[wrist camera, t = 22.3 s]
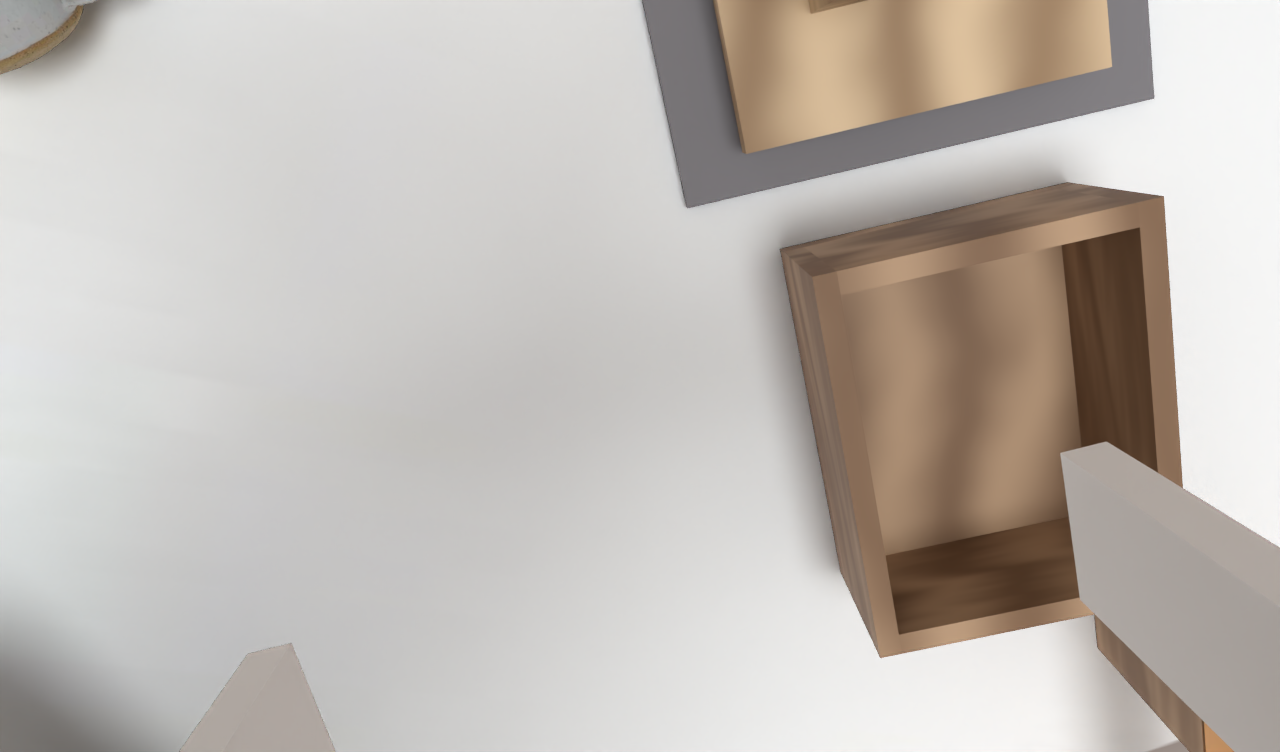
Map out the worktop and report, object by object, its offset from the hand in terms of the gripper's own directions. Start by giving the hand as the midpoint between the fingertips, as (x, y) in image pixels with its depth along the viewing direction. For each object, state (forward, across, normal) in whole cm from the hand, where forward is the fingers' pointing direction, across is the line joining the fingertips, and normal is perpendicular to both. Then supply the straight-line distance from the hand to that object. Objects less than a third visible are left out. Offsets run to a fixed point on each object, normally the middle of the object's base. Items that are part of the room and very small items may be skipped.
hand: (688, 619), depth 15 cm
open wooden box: (+30, +14, -8) cm, 34 cm away
